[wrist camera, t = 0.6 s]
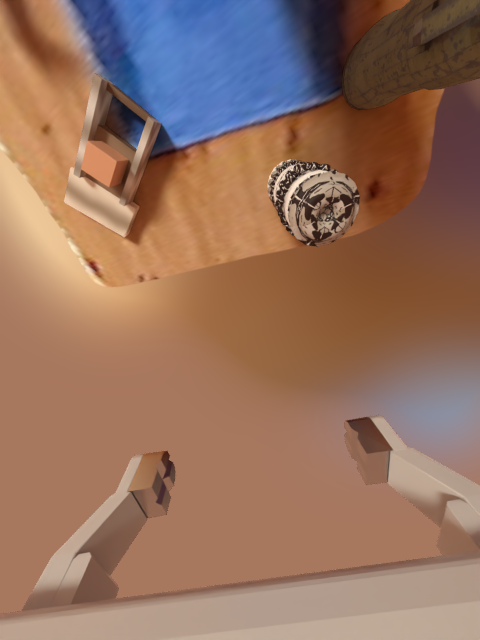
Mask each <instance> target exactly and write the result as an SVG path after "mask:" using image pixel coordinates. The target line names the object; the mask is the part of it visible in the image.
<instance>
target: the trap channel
mask: <svg viewBox="0 0 480 640" xmlns="http://www.w3.org/2000/svg"><path fill="white" fill-rule="evenodd" d="M113 95H114V96H115V97H116V98H117V99H118V100H120V101H121V102H122V103H123V104H125V105H126V106H127V107H128V108H130V109H131V110H132V111H133V112H135V113H136V114H137V115H138V116H140V117H141V118H142V119H143V120H145V121H146V124H145V127H144V130H143V133H142V136H141V139H140V142H139V145H138V148H137V149H136V148H134V147H133V146H132V145H130V144H129V143H128V142H126V141H125V140H124V139H122V138H121V137H120V136H118V135H117V134H116V133H114V132H113V131H111V130H110V129H109V128H107V127H106V126H105V123H106V119H107V115H108V111H109V107H110V103H111V99H112V96H113ZM160 127H161V123H160V122H159V121H158V120H156V119H155V118H154V117H153V116H152V115H150V114H149V113H148V112H147V111H146V110H144V109H143V108H142V107H141V106H139V105H138V104H137V103H136V102H135V101H133V100H132V99H131V98H130V97H128V96H127V95H126V94H125V93H124V92H122V91H121V90H120V89H119V88H118V87H116V86H115V85H114V84H113V83H111V82H110V81H109V80H107V79H105V78H103V77H101V76H99V75H97V74H95V73H94V77H93V82H92V87H91V92H90V97H89V101H88V106H87V111H86V116H85V121H84V125H83V130H82V135H81V140H80V144H79V149H78V154H77V159H76V164H75V167H71V169H70V174H69V179H68V184H67V189H66V194H65V199H64V203H66V204H68V205H70V206H71V207H73V208H75V209H76V210H78V211H80V212H82V213H83V214H85V215H87V216H88V217H90V218H92V219H93V220H95V221H97V222H99V223H100V224H102V225H104V226H105V227H107V228H109V229H111V230H112V231H114V232H116V233H117V234H119V235H121V236H123V237H124V238H125V237H126V236H127V235H128V234H129V232H130V230H131V227H132V225H133V222H134V220H135V217H136V215H137V212H138V210H139V207H140V206H139V205H137V204H135V203H134V202H133V200H134V197H135V194H136V192H137V189H138V186H139V184H140V181H141V178H142V175H143V173H144V170H145V167H146V165H147V162H148V159H149V157H150V154H151V151H152V149H153V146H154V143H155V140H156V138H157V135H158V132H159V130H160ZM87 141H103V142H105V143H106V144H108V145H109V146H110V147H112V148H113V149H114V150H116V151H117V152H119V153H120V154H121V155H123V156H124V157H126V158H127V159H128V160H129V161H128V164H127V167H126V170H125V173H124V176H123V179H122V182H121V184H118V185H115V186H112V187H108V186H106V185H105V184H103V183H101V182H100V181H98V180H97V179H95V178H94V177H92V176H91V175H89V174H88V173H86V172H85V171H83V170H81V167H82V162H83V158H84V153H85V149H86V144H87Z"/></svg>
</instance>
